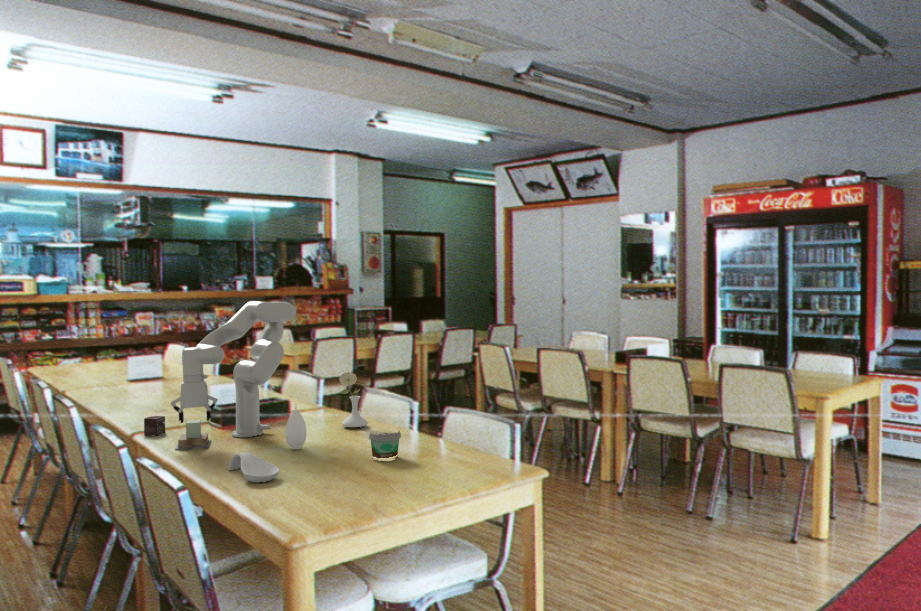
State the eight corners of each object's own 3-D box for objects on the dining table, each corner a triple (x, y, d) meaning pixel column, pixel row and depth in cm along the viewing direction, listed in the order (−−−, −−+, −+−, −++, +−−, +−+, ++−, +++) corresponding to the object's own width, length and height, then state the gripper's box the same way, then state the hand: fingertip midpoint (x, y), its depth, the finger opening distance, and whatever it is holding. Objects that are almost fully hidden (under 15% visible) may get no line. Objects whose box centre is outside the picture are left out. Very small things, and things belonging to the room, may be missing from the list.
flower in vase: (370, 424, 299) (370, 370, 298) (364, 430, 287) (364, 374, 286) (342, 423, 300) (342, 369, 299) (335, 429, 289) (335, 373, 288)
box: (156, 436, 274) (156, 419, 274) (143, 435, 275) (143, 418, 275) (165, 433, 280) (165, 416, 280) (153, 432, 281) (153, 415, 281)
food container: (374, 464, 235) (374, 436, 235) (368, 460, 240) (368, 433, 240) (406, 460, 241) (406, 433, 240) (399, 456, 246) (400, 429, 246)
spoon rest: (286, 480, 216) (286, 459, 216) (254, 489, 207) (254, 466, 207) (248, 466, 232) (248, 446, 232) (217, 473, 223) (217, 453, 223)
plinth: (211, 440, 267) (210, 432, 267) (208, 448, 255) (208, 439, 255) (179, 442, 263) (179, 433, 263) (175, 450, 252) (175, 441, 252)
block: (201, 434, 262) (201, 419, 262) (199, 437, 258) (199, 422, 257) (187, 435, 261) (187, 420, 261) (186, 438, 256) (185, 423, 256)
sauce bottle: (281, 450, 252) (281, 404, 252) (293, 445, 260) (293, 401, 259) (298, 452, 250) (298, 406, 249) (310, 447, 257) (310, 402, 256)
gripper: (217, 375, 264) (219, 417, 266) (171, 378, 260) (173, 420, 261) (215, 378, 257) (217, 421, 258) (168, 381, 252) (170, 425, 254)
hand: (195, 421), depth 260 cm, fingers open, 9 cm apart
